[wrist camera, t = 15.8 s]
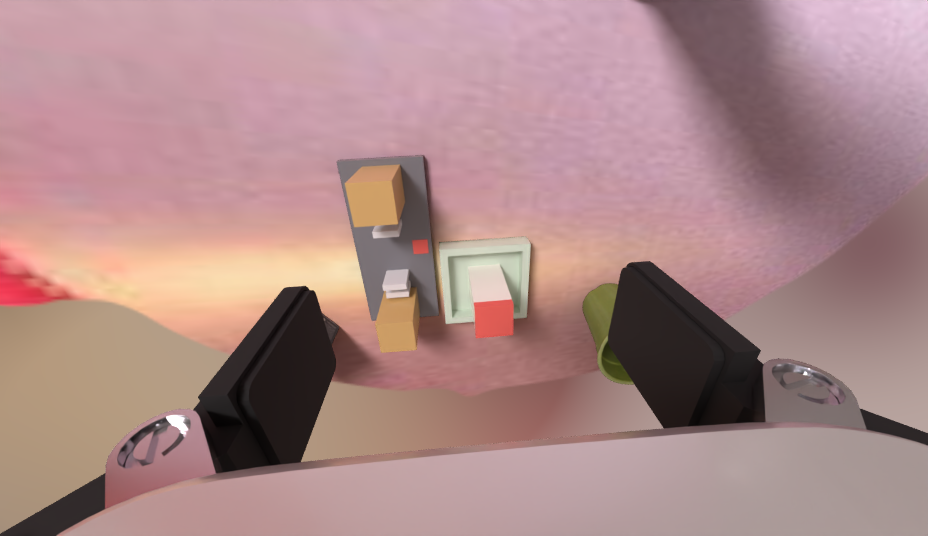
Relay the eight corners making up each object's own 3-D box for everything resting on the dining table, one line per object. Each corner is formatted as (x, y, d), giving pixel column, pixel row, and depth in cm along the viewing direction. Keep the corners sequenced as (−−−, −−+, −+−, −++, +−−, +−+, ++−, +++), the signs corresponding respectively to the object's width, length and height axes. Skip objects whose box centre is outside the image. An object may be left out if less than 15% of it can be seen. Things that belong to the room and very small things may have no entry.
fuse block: (423, 155, 40) (419, 170, 32) (438, 311, 51) (438, 352, 43) (338, 159, 39) (313, 177, 31) (372, 316, 50) (360, 358, 42)
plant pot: (643, 320, 54) (689, 372, 44) (572, 339, 55) (601, 393, 45) (642, 259, 49) (694, 302, 39) (563, 280, 49) (594, 327, 40)
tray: (526, 236, 46) (530, 243, 43) (522, 307, 51) (526, 317, 49) (439, 242, 45) (439, 250, 43) (445, 313, 51) (445, 323, 49)
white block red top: (499, 264, 47) (513, 304, 38) (499, 290, 49) (513, 334, 40) (467, 266, 47) (474, 307, 38) (469, 293, 49) (476, 338, 40)
